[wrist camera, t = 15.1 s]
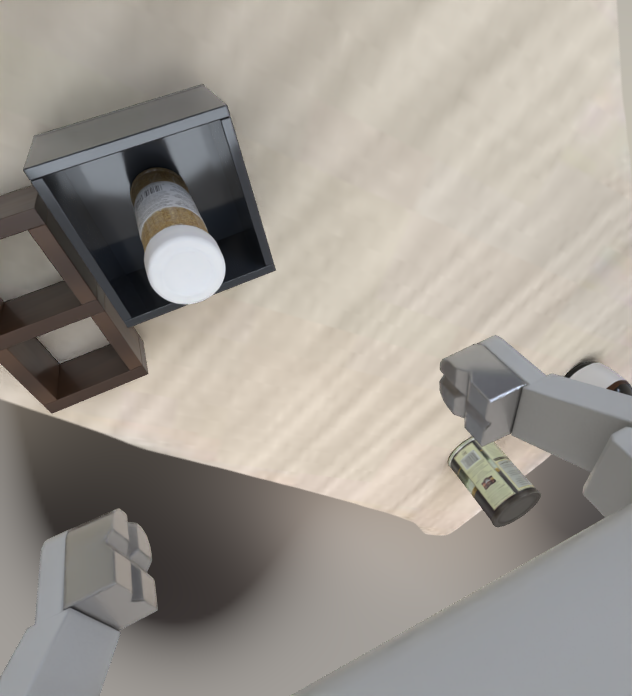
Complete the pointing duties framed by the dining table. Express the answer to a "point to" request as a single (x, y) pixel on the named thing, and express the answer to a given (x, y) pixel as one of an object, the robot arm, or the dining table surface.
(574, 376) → the spread jar
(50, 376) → the rack
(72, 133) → the dark grey open box
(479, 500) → the coffee can
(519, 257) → the dining table surface
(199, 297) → the spice jar
